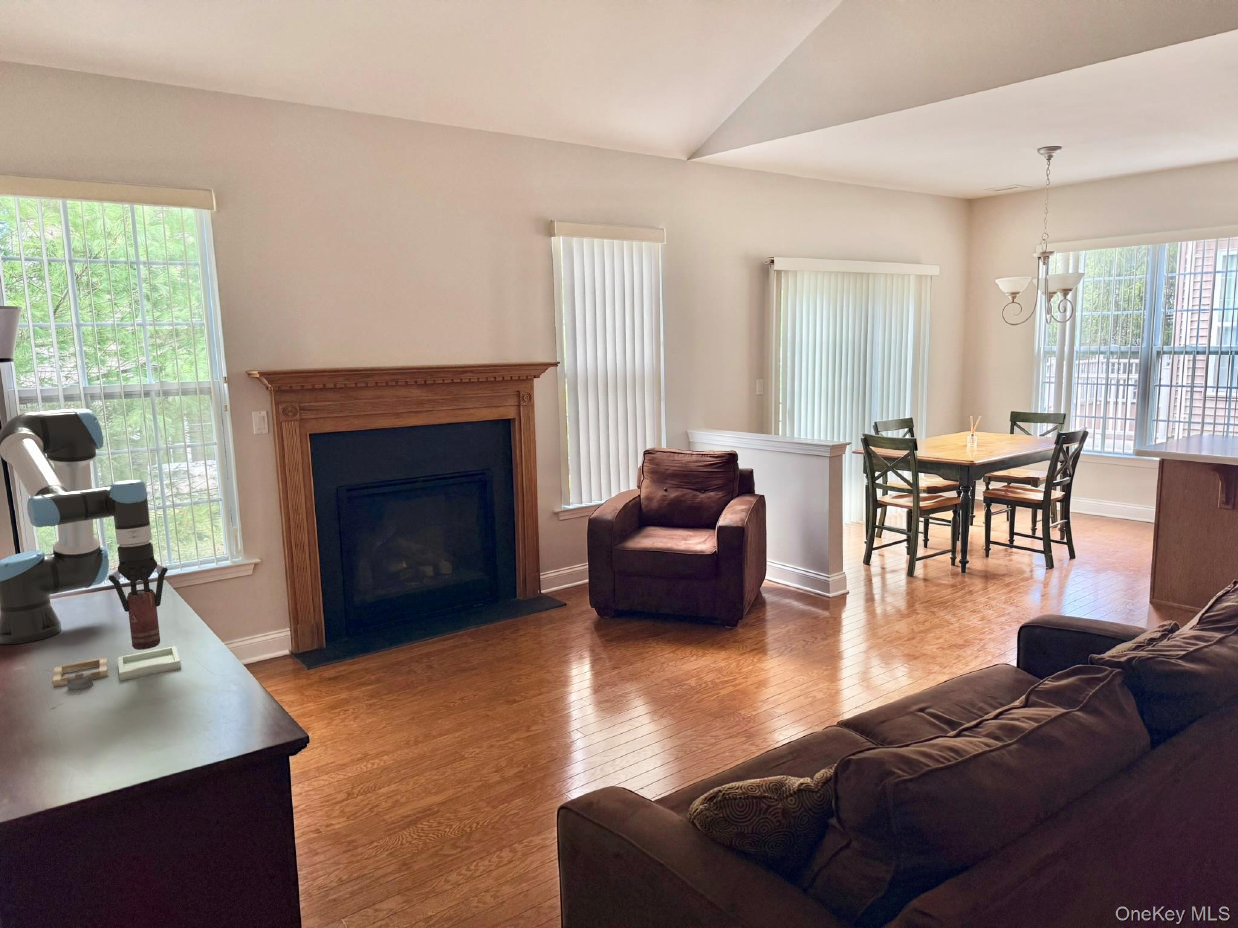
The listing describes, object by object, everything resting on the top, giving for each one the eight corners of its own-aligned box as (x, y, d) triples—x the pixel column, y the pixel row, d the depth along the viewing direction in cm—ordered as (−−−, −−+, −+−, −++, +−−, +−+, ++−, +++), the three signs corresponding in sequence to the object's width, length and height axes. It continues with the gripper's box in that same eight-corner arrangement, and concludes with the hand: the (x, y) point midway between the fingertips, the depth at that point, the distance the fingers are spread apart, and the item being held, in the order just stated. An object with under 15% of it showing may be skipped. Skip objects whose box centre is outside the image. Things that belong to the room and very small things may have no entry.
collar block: (55, 672, 208) (53, 660, 208) (107, 662, 214) (105, 650, 213) (52, 696, 193) (50, 682, 193) (108, 684, 199) (106, 671, 198)
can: (149, 650, 205) (143, 595, 204) (126, 649, 207) (120, 594, 205) (167, 642, 211) (161, 588, 210) (145, 641, 213) (139, 587, 211)
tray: (118, 664, 212) (117, 657, 212) (176, 653, 219) (175, 645, 218) (120, 680, 201) (119, 672, 201) (180, 668, 208) (179, 660, 207)
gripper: (102, 550, 199) (114, 645, 202) (166, 541, 206) (177, 634, 209) (102, 544, 205) (114, 637, 208) (164, 536, 212) (175, 626, 215)
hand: (145, 635), depth 209 cm, fingers closed
